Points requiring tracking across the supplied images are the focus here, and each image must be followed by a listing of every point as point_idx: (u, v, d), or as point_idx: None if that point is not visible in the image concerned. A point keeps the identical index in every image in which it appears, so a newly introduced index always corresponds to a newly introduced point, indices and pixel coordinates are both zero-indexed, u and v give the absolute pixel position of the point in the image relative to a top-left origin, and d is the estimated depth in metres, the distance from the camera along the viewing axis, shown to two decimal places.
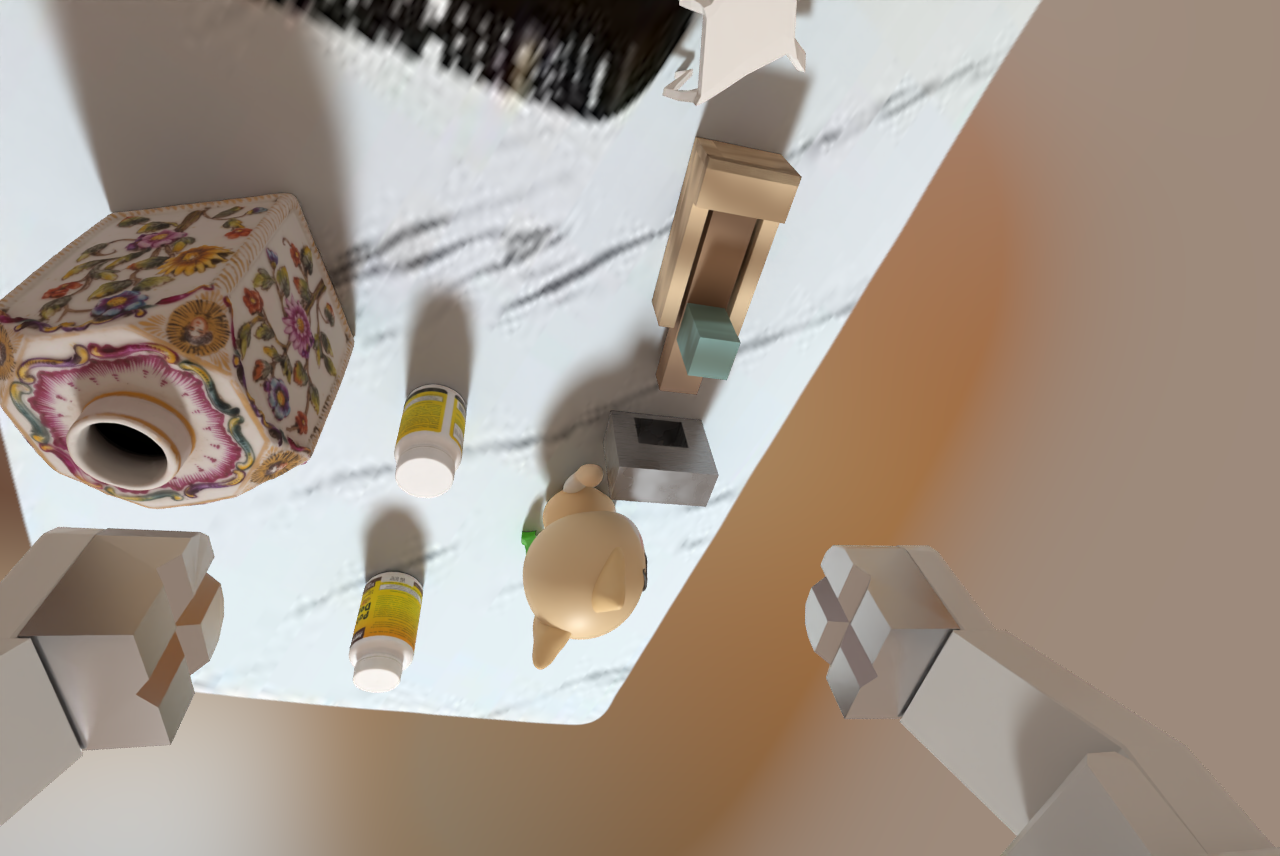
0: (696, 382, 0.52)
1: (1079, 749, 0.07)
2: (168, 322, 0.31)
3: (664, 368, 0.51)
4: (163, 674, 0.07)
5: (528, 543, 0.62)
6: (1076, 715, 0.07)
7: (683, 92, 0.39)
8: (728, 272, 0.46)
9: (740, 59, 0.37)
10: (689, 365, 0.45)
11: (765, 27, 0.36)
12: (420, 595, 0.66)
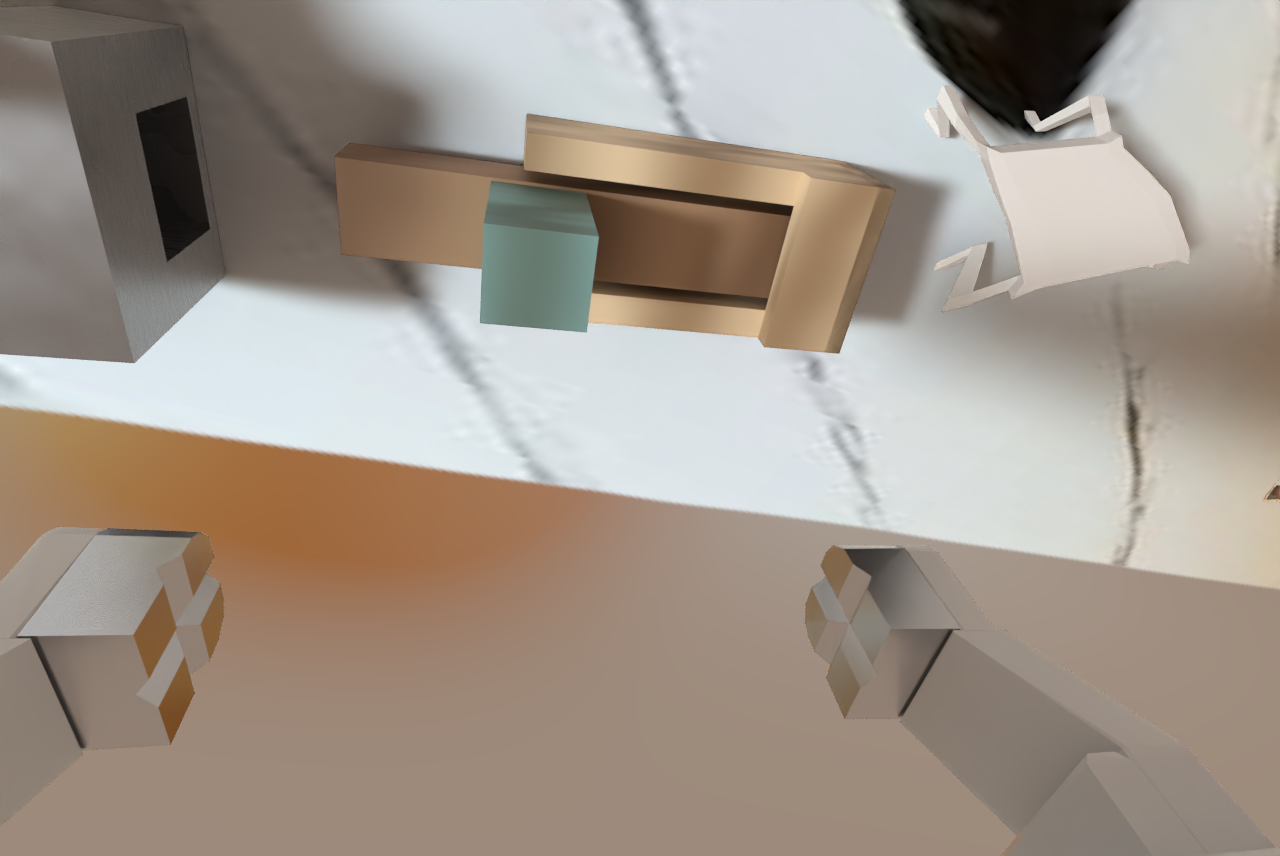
0: (377, 246, 0.22)
1: (1079, 748, 0.07)
2: None
3: (398, 163, 0.21)
4: (163, 674, 0.07)
5: None
6: (1076, 715, 0.07)
7: (970, 121, 0.23)
8: (655, 267, 0.24)
9: (1036, 211, 0.23)
10: (508, 223, 0.18)
11: (1068, 241, 0.24)
12: None
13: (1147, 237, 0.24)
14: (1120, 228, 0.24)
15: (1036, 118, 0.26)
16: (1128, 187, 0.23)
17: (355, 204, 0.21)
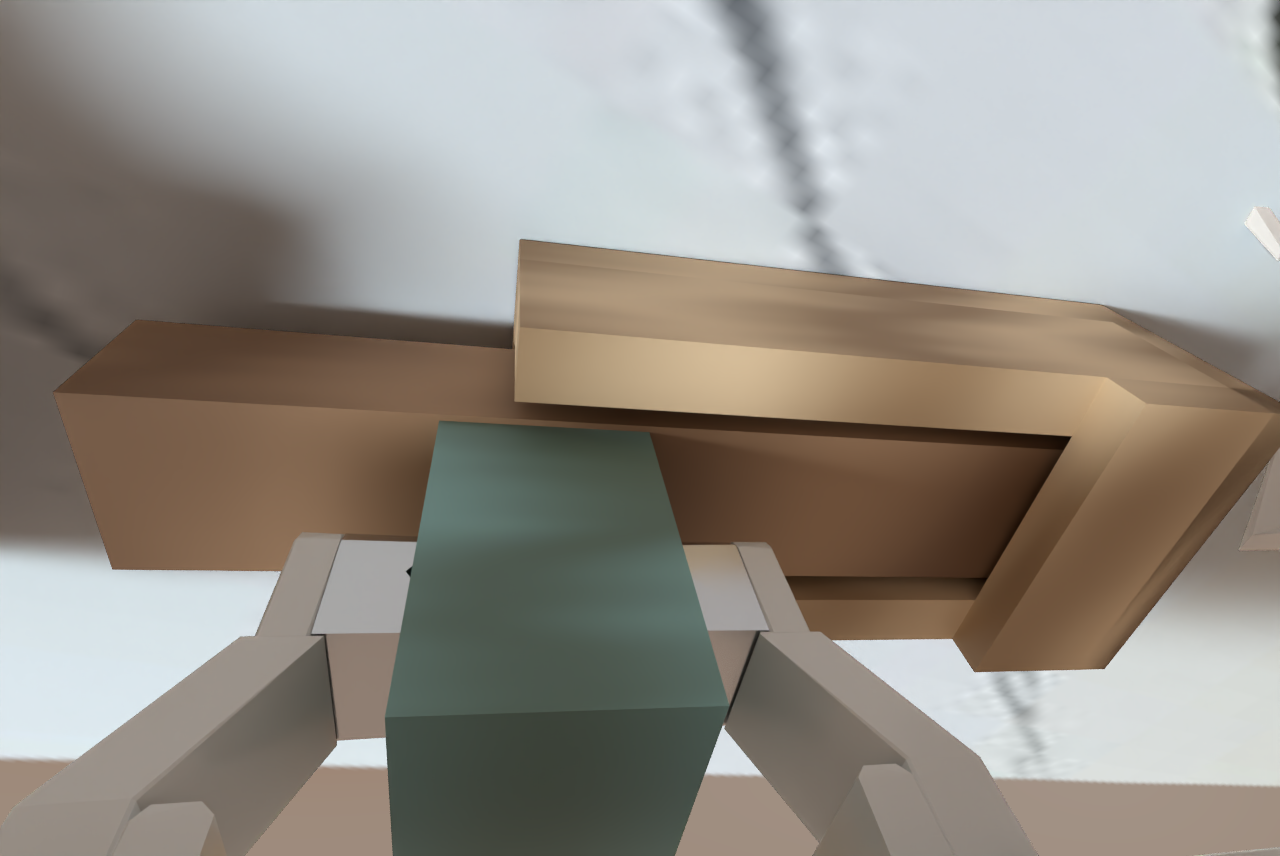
0: (193, 550, 0.10)
1: (870, 760, 0.07)
2: None
3: (220, 389, 0.09)
4: None
5: None
6: (868, 723, 0.07)
7: None
8: (778, 546, 0.12)
9: None
10: (463, 688, 0.06)
11: None
12: None
13: None
14: None
15: None
16: None
17: (126, 480, 0.09)
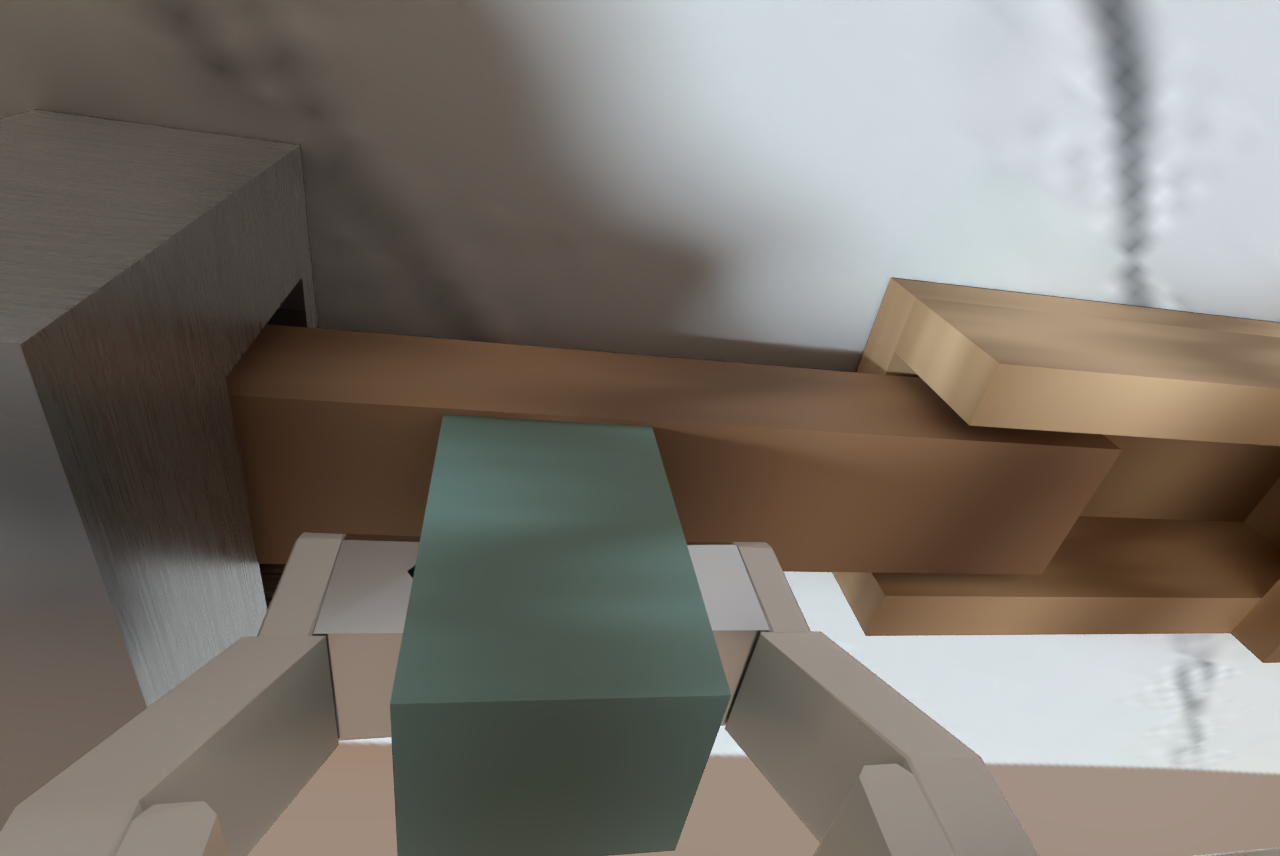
0: None
1: (871, 759, 0.07)
2: None
3: (227, 383, 0.09)
4: None
5: None
6: (869, 723, 0.07)
7: None
8: (780, 541, 0.12)
9: None
10: (466, 675, 0.06)
11: None
12: None
13: None
14: None
15: None
16: None
17: None
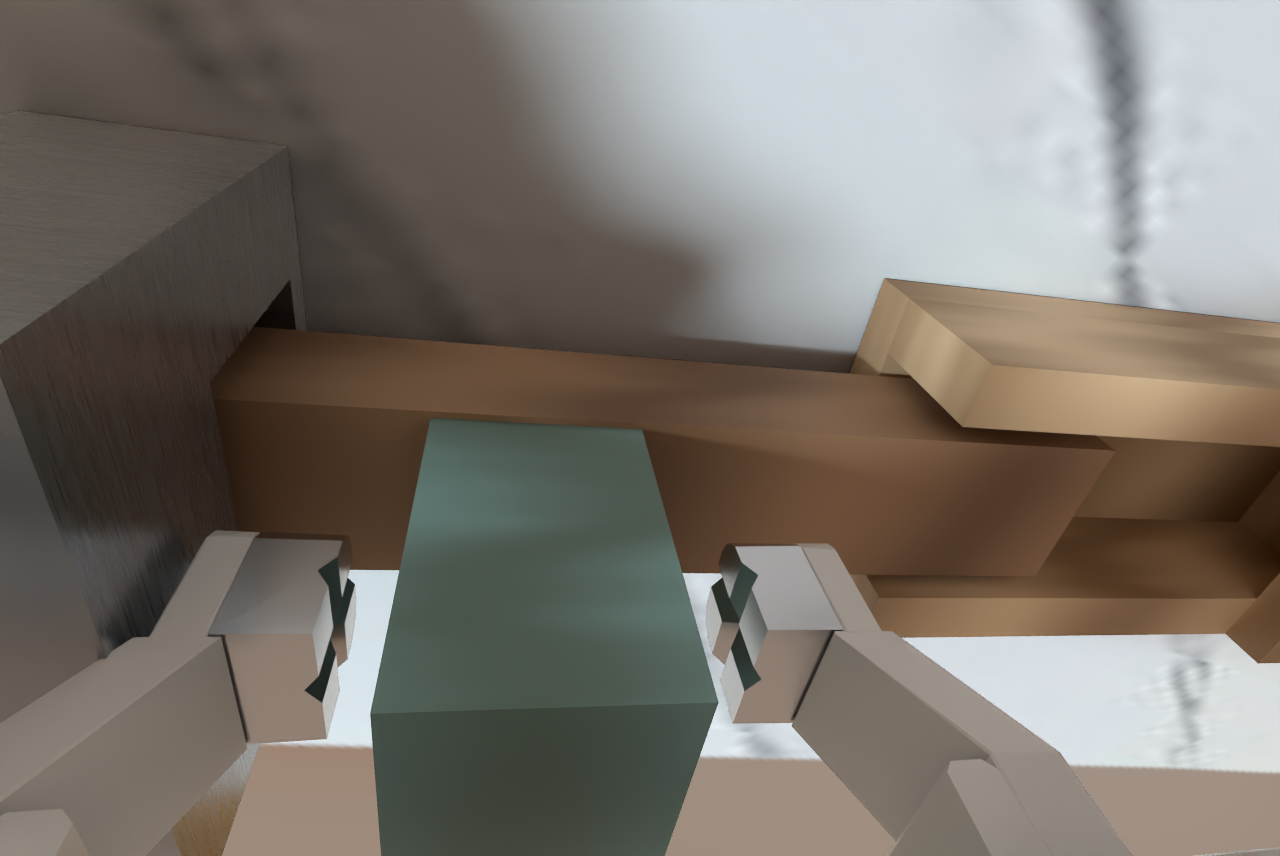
0: None
1: (951, 755, 0.07)
2: None
3: (211, 386, 0.09)
4: (322, 671, 0.08)
5: None
6: (949, 720, 0.07)
7: None
8: None
9: None
10: (450, 683, 0.06)
11: None
12: None
13: None
14: None
15: None
16: None
17: None
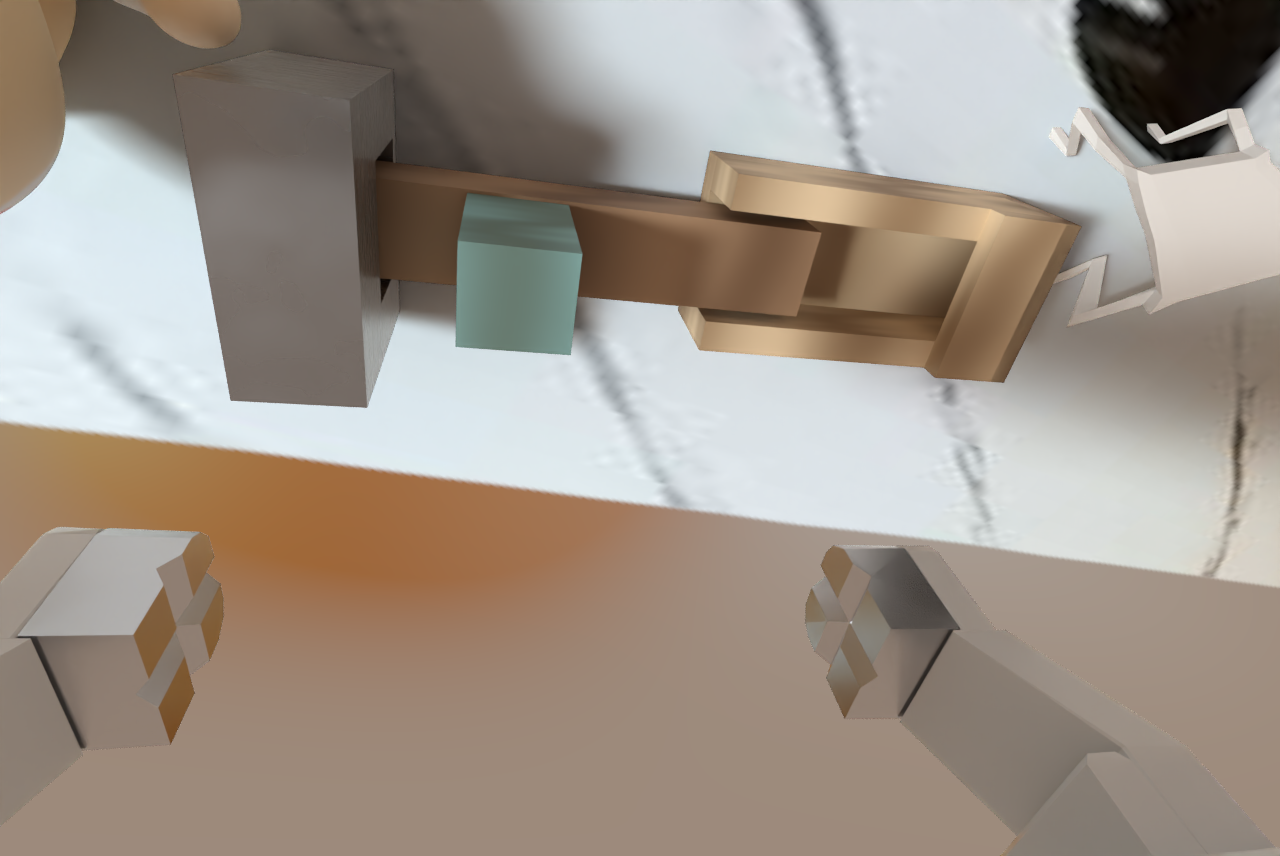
0: None
1: (1079, 749, 0.07)
2: None
3: None
4: (163, 674, 0.07)
5: None
6: (1076, 715, 0.07)
7: (1112, 143, 0.23)
8: (642, 282, 0.22)
9: (1181, 228, 0.23)
10: (484, 240, 0.16)
11: (1209, 255, 0.24)
12: None
13: None
14: (1261, 239, 0.24)
15: (1160, 130, 0.26)
16: (1272, 199, 0.23)
17: None
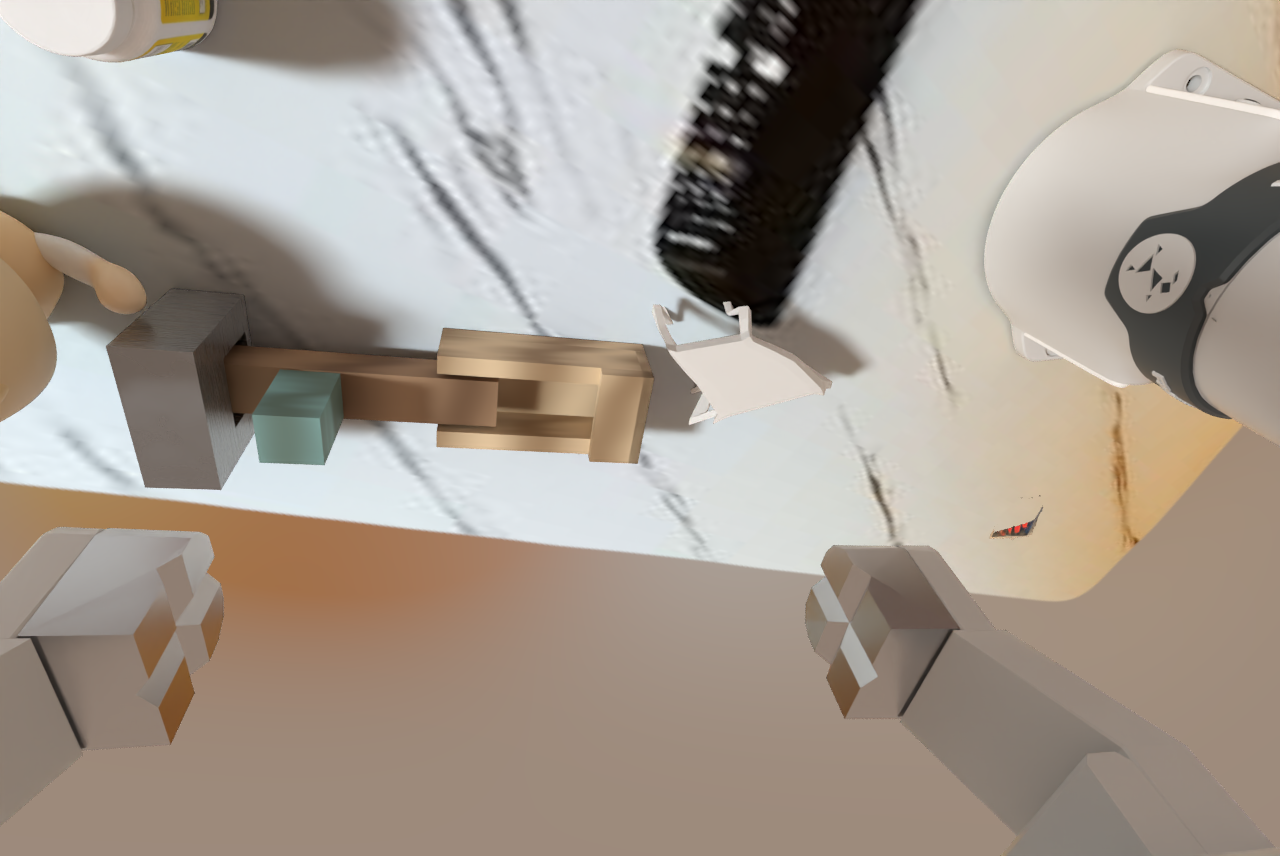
0: None
1: (1079, 748, 0.07)
2: None
3: (223, 361, 0.36)
4: (163, 674, 0.07)
5: None
6: (1076, 715, 0.07)
7: (666, 328, 0.38)
8: (393, 410, 0.38)
9: (711, 377, 0.39)
10: (267, 412, 0.32)
11: (737, 390, 0.39)
12: None
13: (788, 384, 0.40)
14: (768, 381, 0.39)
15: (729, 307, 0.41)
16: (764, 360, 0.39)
17: None
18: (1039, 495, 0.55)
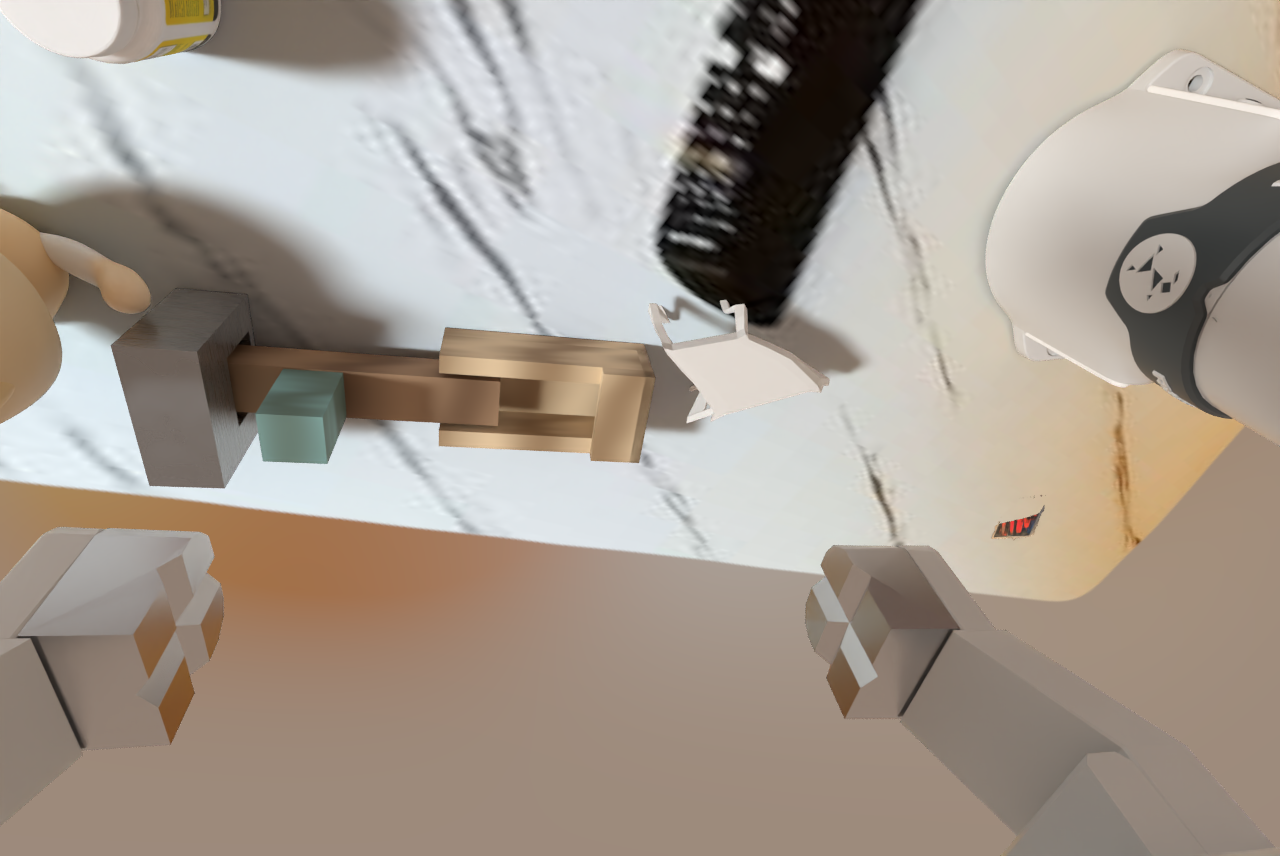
0: None
1: (1079, 749, 0.07)
2: None
3: None
4: (163, 674, 0.07)
5: None
6: (1076, 715, 0.07)
7: (662, 327, 0.38)
8: (396, 410, 0.38)
9: (707, 376, 0.39)
10: (270, 411, 0.33)
11: (734, 388, 0.39)
12: None
13: (785, 381, 0.40)
14: (765, 379, 0.39)
15: (726, 305, 0.41)
16: (760, 358, 0.39)
17: None
18: (1041, 495, 0.55)
